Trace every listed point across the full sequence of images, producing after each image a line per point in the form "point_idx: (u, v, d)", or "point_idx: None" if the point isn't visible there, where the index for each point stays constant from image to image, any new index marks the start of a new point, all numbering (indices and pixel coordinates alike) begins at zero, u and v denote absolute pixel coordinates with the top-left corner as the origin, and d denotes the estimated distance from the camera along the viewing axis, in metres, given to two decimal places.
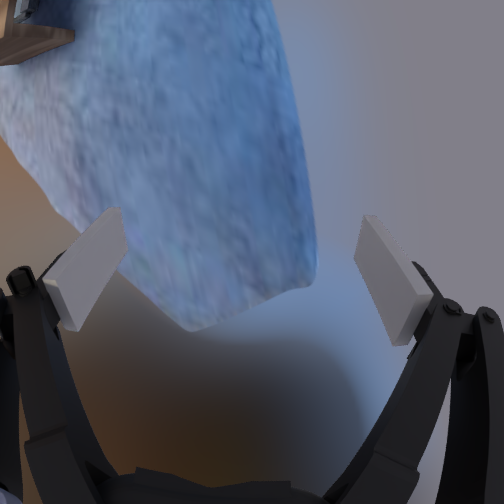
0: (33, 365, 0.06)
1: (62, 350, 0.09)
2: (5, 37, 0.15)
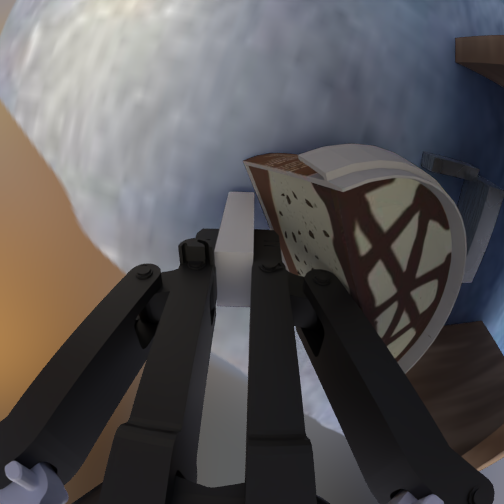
0: (173, 349, 0.07)
1: (211, 337, 0.10)
2: None
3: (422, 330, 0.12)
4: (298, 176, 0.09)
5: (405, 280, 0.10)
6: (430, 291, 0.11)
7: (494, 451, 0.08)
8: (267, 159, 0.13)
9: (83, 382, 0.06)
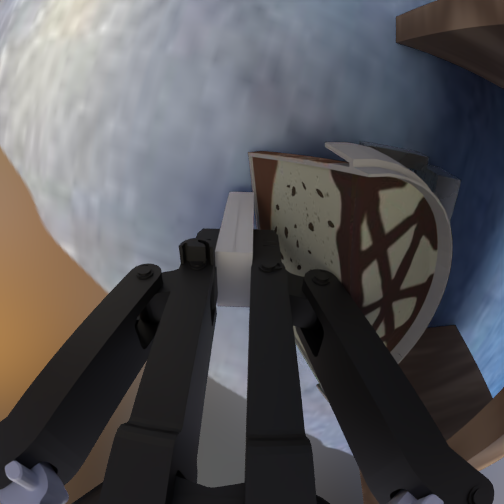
0: (173, 349, 0.07)
1: (211, 337, 0.10)
2: None
3: (392, 347, 0.13)
4: (317, 164, 0.09)
5: (391, 288, 0.10)
6: (408, 309, 0.12)
7: None
8: (276, 153, 0.13)
9: (83, 382, 0.06)
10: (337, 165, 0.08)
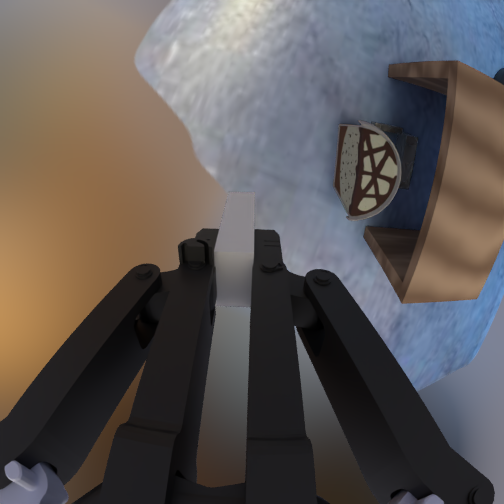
0: (173, 349, 0.07)
1: (210, 337, 0.10)
2: None
3: (379, 205, 0.32)
4: (356, 126, 0.29)
5: (375, 170, 0.30)
6: (385, 187, 0.31)
7: (422, 242, 0.27)
8: None
9: (83, 382, 0.06)
10: (359, 125, 0.28)
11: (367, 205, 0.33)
